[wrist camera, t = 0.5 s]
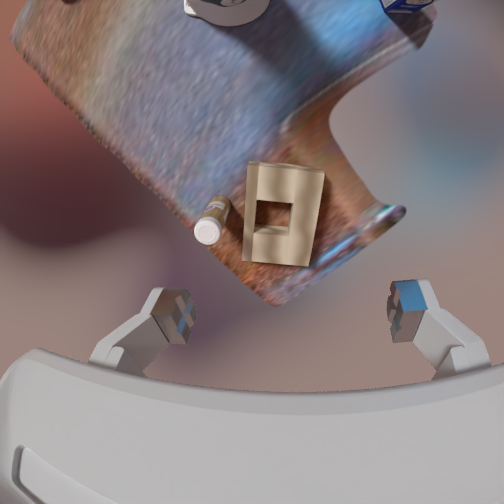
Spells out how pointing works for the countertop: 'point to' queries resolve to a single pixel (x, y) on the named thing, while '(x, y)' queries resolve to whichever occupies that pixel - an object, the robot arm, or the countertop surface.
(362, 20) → the countertop surface
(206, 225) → the sprinkles bottle
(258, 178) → the bottle holder
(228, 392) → the robot arm
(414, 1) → the milk carton
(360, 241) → the countertop surface
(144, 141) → the countertop surface
